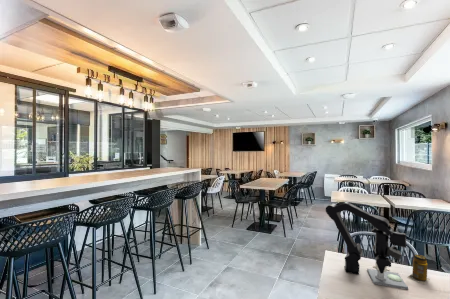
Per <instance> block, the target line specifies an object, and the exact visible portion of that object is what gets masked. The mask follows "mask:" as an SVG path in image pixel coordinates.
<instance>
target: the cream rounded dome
mask: <svg viewBox="0 0 450 299" xmlns="http://www.w3.org/2000/svg"><path fill="white" fill-rule="evenodd" d="M372 268H373V269H375V270H378V271H379V268H378V266H377V264H376V263H375V265H372ZM386 271H387V272H391V270H390V269H389V268H388V266H386V267H385V269H384V272H386Z"/></svg>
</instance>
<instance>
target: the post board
mask: <svg viewBox="0 0 450 299" xmlns="http://www.w3.org/2000/svg"><path fill="white" fill-rule="evenodd" d="M366 271H367V273H368V275H369V277H370V279H371V281H372V284H374V285H379V286H385V287H391V288H396V289H403V290H409V287H408V285H407V283H406V282H405V281H404V280H403V278H402V276H401V275H400V274H399V273H398V272H392V271H386V272H383V273H380V271H378V270H376V269H375V268H373V269H372V268H366Z"/></svg>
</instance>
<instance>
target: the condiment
mask: <svg viewBox="0 0 450 299" xmlns="http://www.w3.org/2000/svg"><path fill="white" fill-rule="evenodd" d="M427 261H428V259H427V257H426V256H424V255H422V254H414V256H413V260H412V273H411V274H410V275H409V276H407V278H408V279H410V280H413V281H415V282H417V283H420V284H422V285H426V284H427V283H428V282H429V281H430V279H431V278H429V277H428V266H429V265H428V262H427Z"/></svg>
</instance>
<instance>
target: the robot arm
mask: <svg viewBox="0 0 450 299" xmlns="http://www.w3.org/2000/svg"><path fill="white" fill-rule="evenodd" d="M344 211H347V212H349V213H351V214H353V215H355V216H356V217H358V218H361V219H363V220H365V221H366V222H368V223H369V224H370V225H371V226H373V227H374V228H373V229H371V233H374V234H375V239H374V245H373V246H372V251H373V255H374V257H375V258H374V259H375V260H374V261H375V265H376V264H377V266H378V268H379V271H380V273H383V272H384V269H385V267H386V266H387V268H388V267H389V268H391V267H392V262H391V259H390V257H392V258H393V259H396V260H397V261H400V259H401V257H402V256H403V254H402V252H401V251H400V250H398V247H400V248H405V249H406V248H407V233H405V232H404V233H403V232H399V231H398V232H396V231H394V229H393V227H392V226H391V225H390V221H389V219H387V218H385V217H383V216H380V215H377V214H373V213H370V212H368V211H366V210H364V209H362V208H360V207H358V206H356V205H354V204H352V203H350V202H349V201H345V202H339V203H330V204H329V205H327V206H326V207H325V213H326V214H327V216H328V217H329V219H331V220H332V221H333V222H334V224H335V226H336V228H337V229H338V232H339V233H340V236H341V238H342V239H343V241H344V243H345V245H346V250H347V252H346V255H345V257H344V270H345V273H348V274H353V275H354V274H355V275H360V263H359V261H360V260H361V259H362V256H363V254H364V253H363V251H364V249H363V248H362V247H361V244H360V243H359V242H358V243H357V242H355V240H354V239H353V237H352V235H351V233H350V232H349V230H348V228H347V226H346V224H345V222H344V220H343V219H342V216H341V212H344ZM389 243H390V244H391V245H392V246H389Z"/></svg>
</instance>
